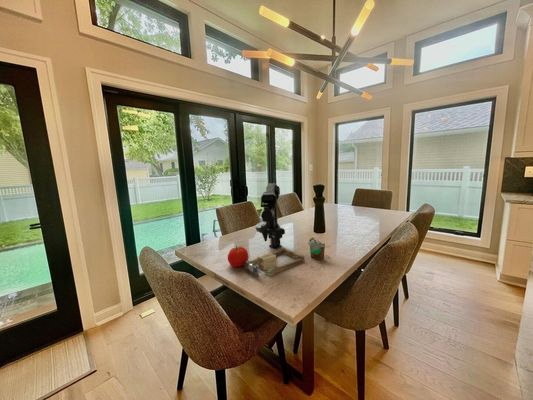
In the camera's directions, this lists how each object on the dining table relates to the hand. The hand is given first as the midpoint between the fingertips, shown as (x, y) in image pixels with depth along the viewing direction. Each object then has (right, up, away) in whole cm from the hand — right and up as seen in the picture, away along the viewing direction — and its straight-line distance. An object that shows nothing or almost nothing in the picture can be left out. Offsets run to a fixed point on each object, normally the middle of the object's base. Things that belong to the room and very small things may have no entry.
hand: (270, 243), depth 122 cm
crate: (-2, -12, -2) cm, 12 cm away
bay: (+3, -11, +2) cm, 12 cm away
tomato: (-18, -13, +1) cm, 22 cm away
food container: (+26, -10, +7) cm, 29 cm away
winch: (-8, -13, -8) cm, 18 cm away
